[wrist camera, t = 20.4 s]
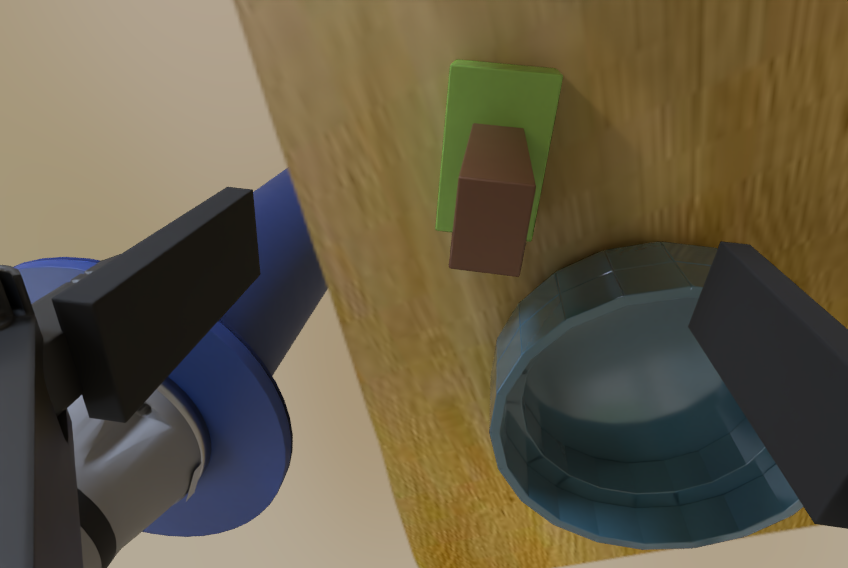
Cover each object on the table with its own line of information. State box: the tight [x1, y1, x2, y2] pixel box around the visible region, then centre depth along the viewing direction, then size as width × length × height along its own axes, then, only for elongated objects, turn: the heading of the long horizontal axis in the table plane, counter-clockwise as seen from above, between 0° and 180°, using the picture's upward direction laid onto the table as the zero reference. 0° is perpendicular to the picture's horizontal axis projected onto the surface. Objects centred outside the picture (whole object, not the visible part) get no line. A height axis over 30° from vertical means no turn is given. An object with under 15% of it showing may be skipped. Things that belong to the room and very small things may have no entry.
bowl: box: [489, 242, 804, 550], centre depth 29 cm, size 18×18×6 cm
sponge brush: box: [435, 60, 563, 277], centre depth 21 cm, size 8×5×12 cm, turn 176°
